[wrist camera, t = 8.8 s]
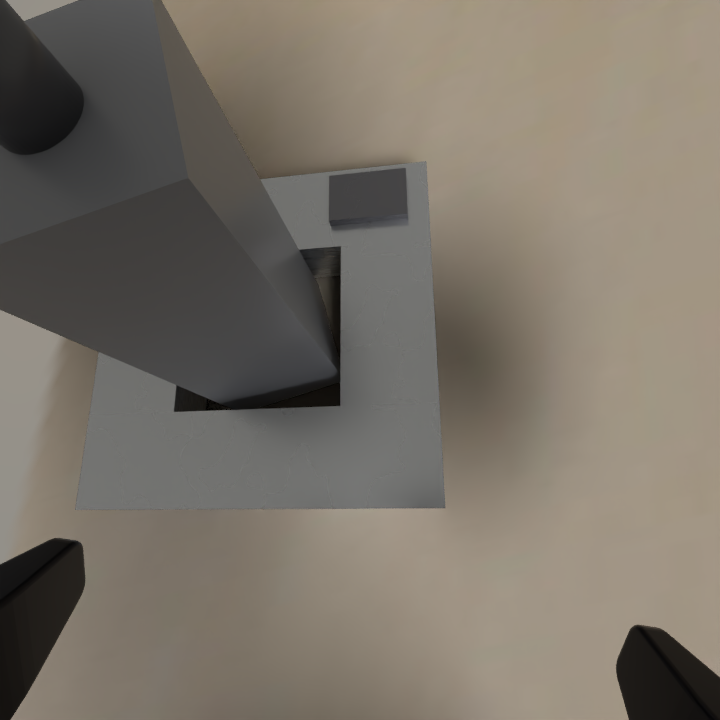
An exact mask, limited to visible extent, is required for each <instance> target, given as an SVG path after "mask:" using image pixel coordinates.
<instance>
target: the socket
mask: <svg viewBox="0 0 720 720" xmlns="http://www.w3.org/2000/svg"><path fill="white" fill-rule="evenodd" d="M260 180H261V182H262V184H263V186H264V187H265V189H266V191H267V193H268V195H269V196H270V198H271V200H272V202H273V204H274V205H275V207H276V209H277V211H278V213H279V215H280V216H281V218H282V220H283V222H284V224H285V225H286V227H287V229H288V231H289V233H290V234H291V236H292V238H293V240H294V242H295V244H296V245H297V247H298V249H299V251H300V253H301V254H302V256H303V258H304V260H305V262H306V263H307V265H308V267H309V269H310V271H311V273H312V274H313V276H314V278H317V277H330V276H341V355H340V406H327V407H299V408H271V409H243V410H215V411H206V405H207V398H205V397H203V396H201V395H198V394H196V393H194V392H191V391H189V390H187V389H184V388H182V387H180V386H177V385H175V384H173V383H170V382H168V381H166V380H163V379H161V378H159V377H156V376H154V375H152V374H149V373H147V372H145V371H142V370H140V369H138V368H135V367H133V366H131V365H128V364H126V363H124V362H121V361H119V360H117V359H114V358H112V357H110V356H107V355H105V354H103V353H100V352H99V353H98V360H97V367H96V373H95V380H94V387H93V393H92V400H91V407H90V413H89V420H88V427H87V433H86V440H85V447H84V454H83V460H82V467H81V474H80V480H79V487H78V494H77V500H76V507H75V510H143V509H357V508H445V495H444V476H443V458H442V440H441V421H440V403H439V385H438V367H437V348H436V330H435V312H434V294H433V275H432V257H431V239H430V221H429V202H428V184H427V166H426V161H425V162H416V163H406V164H397V165H388V166H378V167H369V168H360V169H350V170H341V171H332V172H322V173H313V174H304V175H294V176H285V177H276V178H266V179H260Z"/></svg>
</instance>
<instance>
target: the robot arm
mask: <svg viewBox="0 0 720 720" xmlns="http://www.w3.org/2000/svg"><path fill="white" fill-rule="evenodd" d="M84 586H85V568H84V554H83V546H82V544H81V543H80V542H78V541H76V540H69V539H62V538H54V539H51V540H49V541H47V542H45V543H43V544H41V545H38V546H36V547H34V548H32V549H30V550H28V551H26V552H24V553H22V554H20V555H18V556H16V557H14V558H12V559H10V560H8V561H6V562H4V563H2V564H0V720H10V719H11V718H12V716H13V715H14V713H15V712H16V710H17V709H18V707H19V706H20V704H21V703H22V701H23V699H24V698H25V696H26V695H27V693H28V691H29V689H30V688H31V686H32V684H33V683H34V681H35V679H36V677H37V675H38V674H39V672H40V670H41V668H42V666H43V665H44V663H45V661H46V659H47V657H48V655H49V654H50V652H51V650H52V648H53V646H54V645H55V643H56V641H57V639H58V637H59V635H60V634H61V632H62V630H63V628H64V626H65V624H66V623H67V621H68V619H69V617H70V615H71V614H72V612H73V610H74V608H75V606H76V604H77V603H78V601H79V599H80V597H81V595H82V592H83V590H84ZM616 673H617V678H618V682H619V686H620V689H621V693H622V696H623V700H624V704H625V707H626V711H627V714H628V718H629V720H720V677H719V676H718V675H716V674H715V673H714V672H713V671H712V670H710V669H709V668H708V667H707V666H706V665H705V664H703V663H702V662H701V661H700V660H699V659H697V658H696V657H695V656H694V655H693V654H692V653H690V652H689V651H688V650H687V649H686V648H684V647H683V646H682V645H681V644H680V643H679V642H677V641H676V640H675V639H674V638H673V637H671V636H670V635H669V634H668V633H667V632H665V631H664V630H662V629H660V628H657V627H650V626H644V625H635V626H633V627H632V628H631V629H630V631H629V633H628V635H627V638H626V640H625V642H624V645H623V647H622V649H621V652H620V654H619V656H618V659H617V664H616Z"/></svg>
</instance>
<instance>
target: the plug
mask: <svg viewBox="0 0 720 720" xmlns="http://www.w3.org/2000/svg"><path fill="white" fill-rule="evenodd" d="M0 310H2V311H5V312H7V313H9V314H11V315H14V316H16V317H18V318H21V319H23V320H26V321H28V322H30V323H32V324H35V325H37V326H39V327H42V328H44V329H46V330H49V331H51V332H53V333H56V334H58V335H60V336H63V337H65V338H67V339H70V340H72V341H75V342H77V343H79V344H82V345H84V346H86V347H89V348H91V349H93V350H96V351H98V352H100V353H103V354H105V355H107V356H110V357H112V358H114V359H117V360H119V361H121V362H124V363H126V364H128V365H131V366H133V367H135V368H138V369H140V370H142V371H145V372H147V373H149V374H152V375H154V376H156V377H159V378H161V379H163V380H166V381H168V382H170V383H173V384H175V385H177V386H180V387H182V388H184V389H187V390H189V391H191V392H194V393H196V394H198V395H201V396H203V397H205V398H208V399H210V400H212V401H215V402H217V403H219V404H222V405H224V406H226V407H229V408H231V409H233V410H243V409H257V408H260V407H263V406H266V405H269V404H272V403H276V402H279V401H282V400H285V399H288V398H291V397H295V396H298V395H301V394H304V393H307V392H310V391H313V390H317V389H320V388H323V387H326V386H329V385H332V384H336V383H339V382H340V360H339V356H338V353H337V349H336V346H335V342H334V339H333V335H332V332H331V328H330V325H329V321H328V318H327V314H326V310H325V307H324V303H323V300H322V296H321V293H320V289H319V286H318V283H317V282H316V280H315V278H314V276H313V274H312V273H311V271H310V269H309V267H308V265H307V263H306V262H305V260H304V258H303V256H302V254H301V253H300V251H299V249H298V247H297V245H296V244H295V242H294V240H293V238H292V236H291V234H290V233H289V231H288V229H287V227H286V225H285V224H284V222H283V220H282V218H281V216H280V215H279V213H278V211H277V209H276V207H275V205H274V204H273V202H272V200H271V198H270V196H269V195H268V193H267V191H266V189H265V187H264V186H263V184H262V182H261V180H260V178H259V176H258V175H257V173H256V171H255V169H254V167H253V166H252V164H251V162H250V160H249V158H248V157H247V155H246V153H245V151H244V149H243V147H242V146H241V144H240V142H239V140H238V138H237V137H236V135H235V133H234V131H233V129H232V128H231V126H230V124H229V122H228V120H227V118H226V117H225V115H224V113H223V111H222V109H221V108H220V106H219V104H218V102H217V100H216V99H215V97H214V95H213V93H212V91H211V89H210V88H209V86H208V84H207V82H206V80H205V79H204V77H203V75H202V73H201V71H200V70H199V68H198V66H197V64H196V62H195V60H194V59H193V57H192V55H191V53H190V51H189V50H188V48H187V46H186V44H185V42H184V41H183V39H182V37H181V35H180V33H179V31H178V30H177V28H176V26H175V24H174V22H173V21H172V19H171V17H170V15H169V13H168V12H167V10H166V8H165V6H164V4H163V2H162V1H161V0H78V1H76V2H73V3H71V4H68V5H65V6H62V7H60V8H57V9H55V10H52V11H49V12H47V13H44V14H42V15H39V16H36V17H34V18H31V19H29V20H26V21H23V20H22V19H21V17H20V16H19V15H18V14H17V13H16V12H15V11H14V9H13V8H12V7H11V6H10V5H9V4H8V2H7V1H6V0H0Z"/></svg>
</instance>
